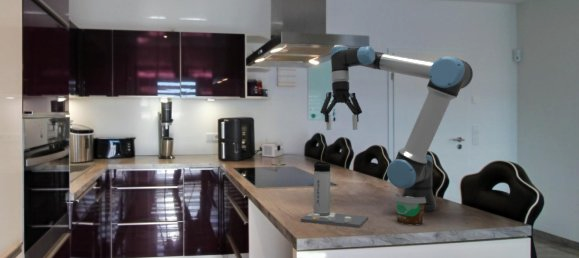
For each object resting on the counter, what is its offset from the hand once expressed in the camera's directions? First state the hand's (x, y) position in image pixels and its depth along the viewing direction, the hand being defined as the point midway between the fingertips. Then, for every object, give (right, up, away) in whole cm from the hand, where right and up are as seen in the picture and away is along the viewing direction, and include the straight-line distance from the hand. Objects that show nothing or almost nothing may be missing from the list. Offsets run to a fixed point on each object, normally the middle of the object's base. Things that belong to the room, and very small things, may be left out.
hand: (342, 129), depth 190 cm
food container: (+19, -34, -32) cm, 50 cm away
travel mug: (-11, -33, -24) cm, 42 cm away
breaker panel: (-6, -34, -29) cm, 45 cm away
